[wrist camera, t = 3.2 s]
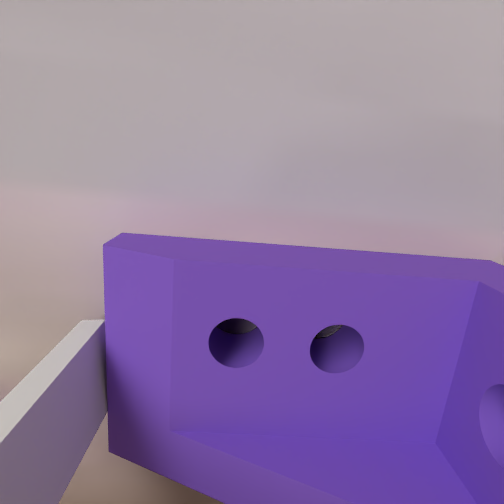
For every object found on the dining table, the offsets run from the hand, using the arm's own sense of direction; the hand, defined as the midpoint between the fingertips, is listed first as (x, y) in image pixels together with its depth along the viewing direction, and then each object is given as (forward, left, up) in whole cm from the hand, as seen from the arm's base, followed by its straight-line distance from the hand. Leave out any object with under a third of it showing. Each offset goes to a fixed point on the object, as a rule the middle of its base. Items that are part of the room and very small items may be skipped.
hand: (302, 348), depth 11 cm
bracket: (0, 0, -1) cm, 1 cm away
